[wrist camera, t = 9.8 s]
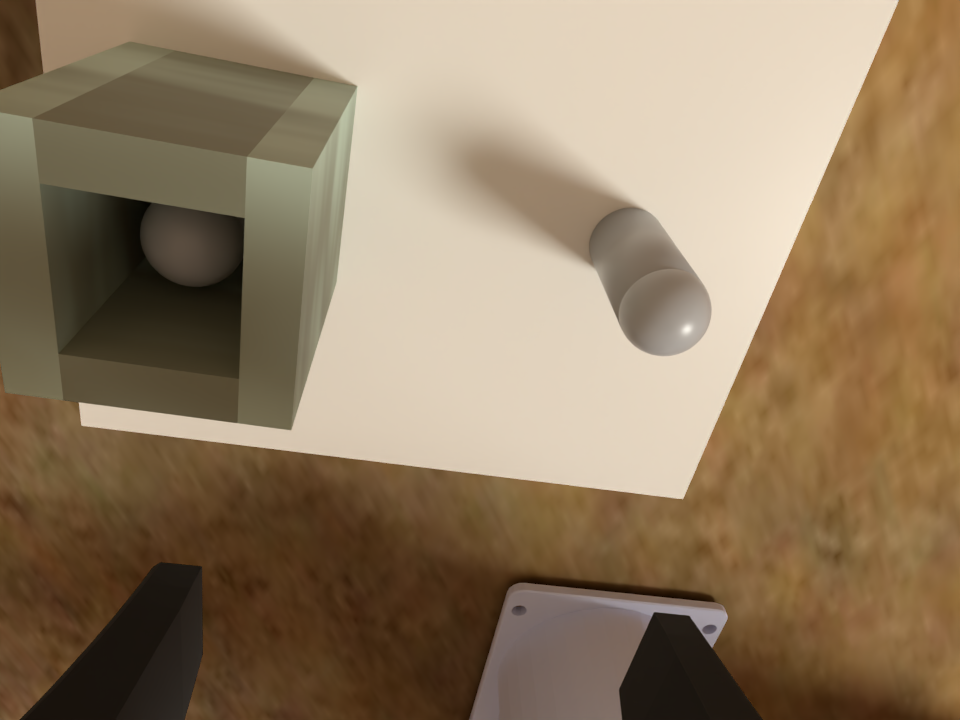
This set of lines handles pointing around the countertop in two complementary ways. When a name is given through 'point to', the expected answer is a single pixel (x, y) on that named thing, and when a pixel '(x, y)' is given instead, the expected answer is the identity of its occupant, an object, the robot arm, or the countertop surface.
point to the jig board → (524, 215)
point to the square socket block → (176, 182)
